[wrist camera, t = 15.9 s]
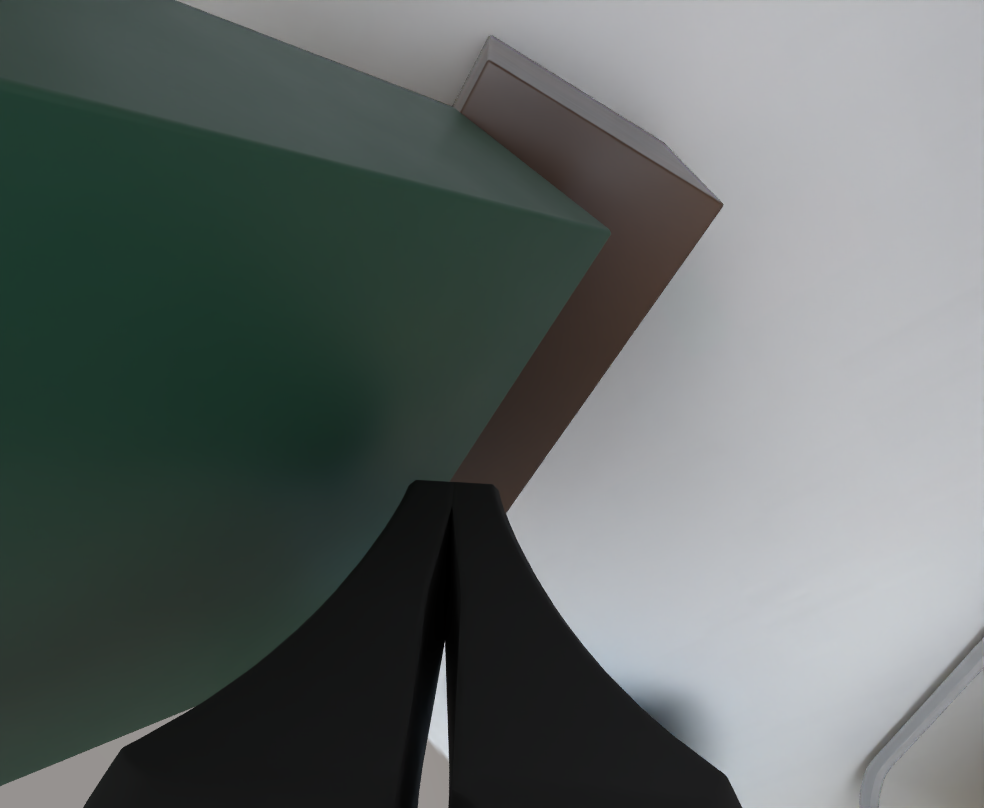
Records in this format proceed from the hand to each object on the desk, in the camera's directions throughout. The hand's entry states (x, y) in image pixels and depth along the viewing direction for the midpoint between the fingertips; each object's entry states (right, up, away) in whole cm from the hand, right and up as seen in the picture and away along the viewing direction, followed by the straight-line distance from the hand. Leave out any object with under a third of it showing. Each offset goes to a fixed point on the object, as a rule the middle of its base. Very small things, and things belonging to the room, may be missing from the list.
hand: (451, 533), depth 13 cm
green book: (-1, +2, +2) cm, 4 cm away
